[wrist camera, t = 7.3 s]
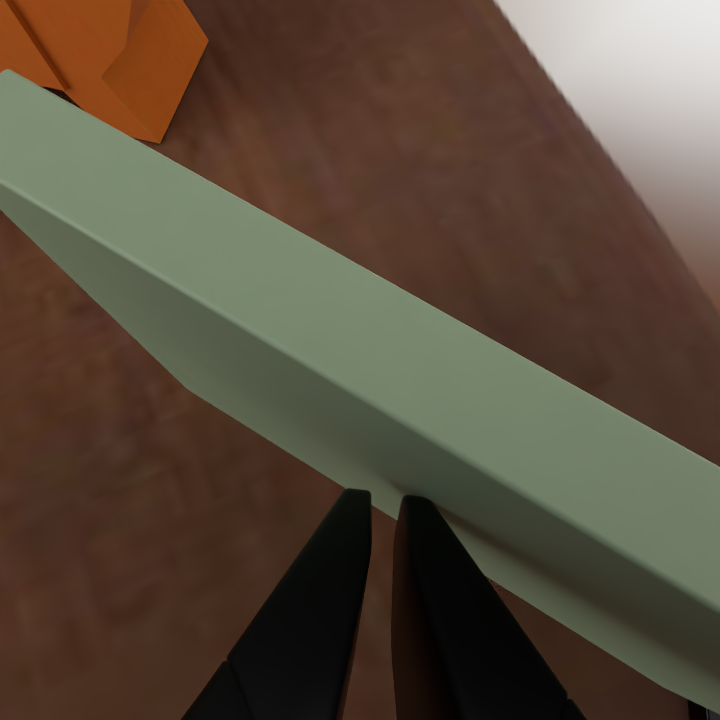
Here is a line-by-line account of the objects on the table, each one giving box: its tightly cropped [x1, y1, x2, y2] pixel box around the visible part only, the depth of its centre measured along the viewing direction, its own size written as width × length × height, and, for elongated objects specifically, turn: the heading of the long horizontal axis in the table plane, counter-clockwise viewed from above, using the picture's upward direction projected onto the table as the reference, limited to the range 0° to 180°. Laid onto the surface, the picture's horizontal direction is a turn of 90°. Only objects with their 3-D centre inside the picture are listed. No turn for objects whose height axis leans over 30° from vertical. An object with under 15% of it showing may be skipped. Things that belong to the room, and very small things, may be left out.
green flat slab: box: [0, 69, 720, 714], centre depth 9 cm, size 16×3×10 cm, turn 59°
